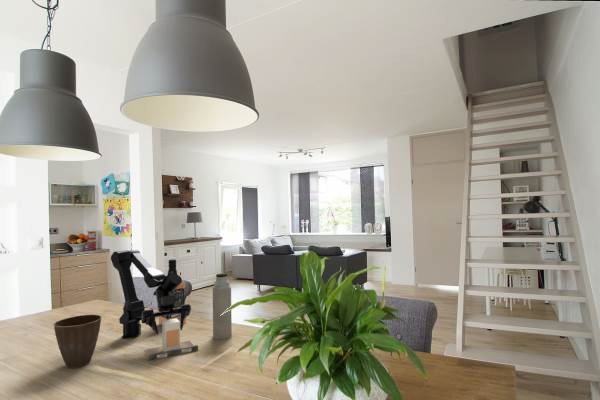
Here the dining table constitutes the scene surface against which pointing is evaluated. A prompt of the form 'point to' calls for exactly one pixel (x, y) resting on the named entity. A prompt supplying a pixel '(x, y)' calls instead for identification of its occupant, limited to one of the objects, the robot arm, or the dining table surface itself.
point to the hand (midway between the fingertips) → (169, 332)
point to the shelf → (158, 353)
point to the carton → (170, 335)
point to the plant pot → (77, 338)
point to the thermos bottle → (221, 308)
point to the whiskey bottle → (178, 290)
